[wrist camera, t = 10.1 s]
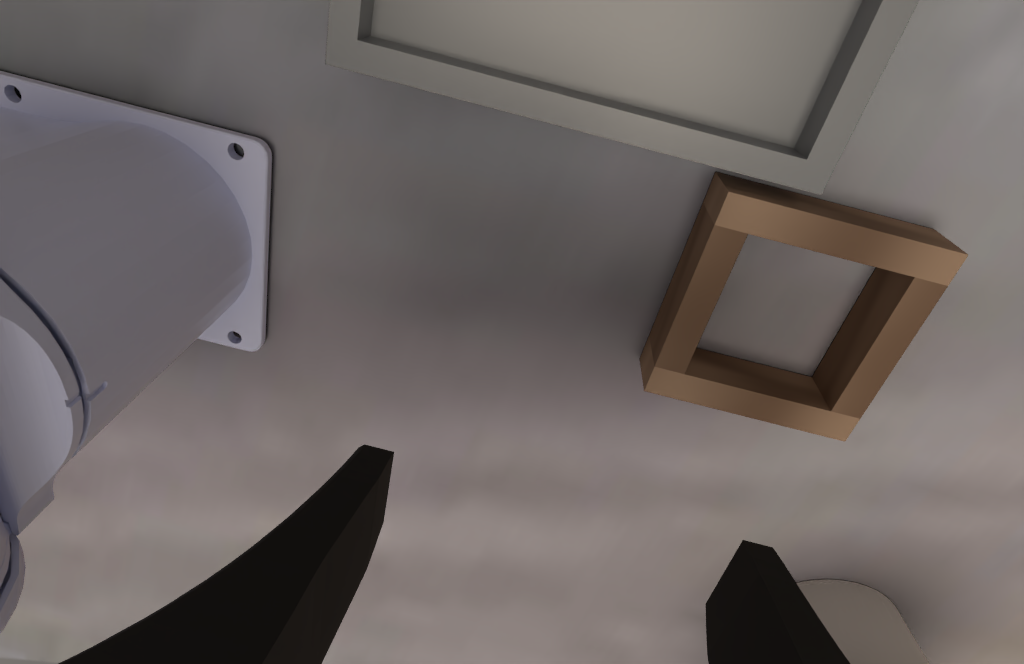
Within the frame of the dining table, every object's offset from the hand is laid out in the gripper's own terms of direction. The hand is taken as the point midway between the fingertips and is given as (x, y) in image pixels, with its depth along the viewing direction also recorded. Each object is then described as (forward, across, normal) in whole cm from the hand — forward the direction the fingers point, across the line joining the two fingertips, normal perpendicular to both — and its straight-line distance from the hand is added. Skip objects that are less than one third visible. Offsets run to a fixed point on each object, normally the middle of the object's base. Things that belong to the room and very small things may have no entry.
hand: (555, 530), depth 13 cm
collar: (+11, -6, -2) cm, 12 cm away
